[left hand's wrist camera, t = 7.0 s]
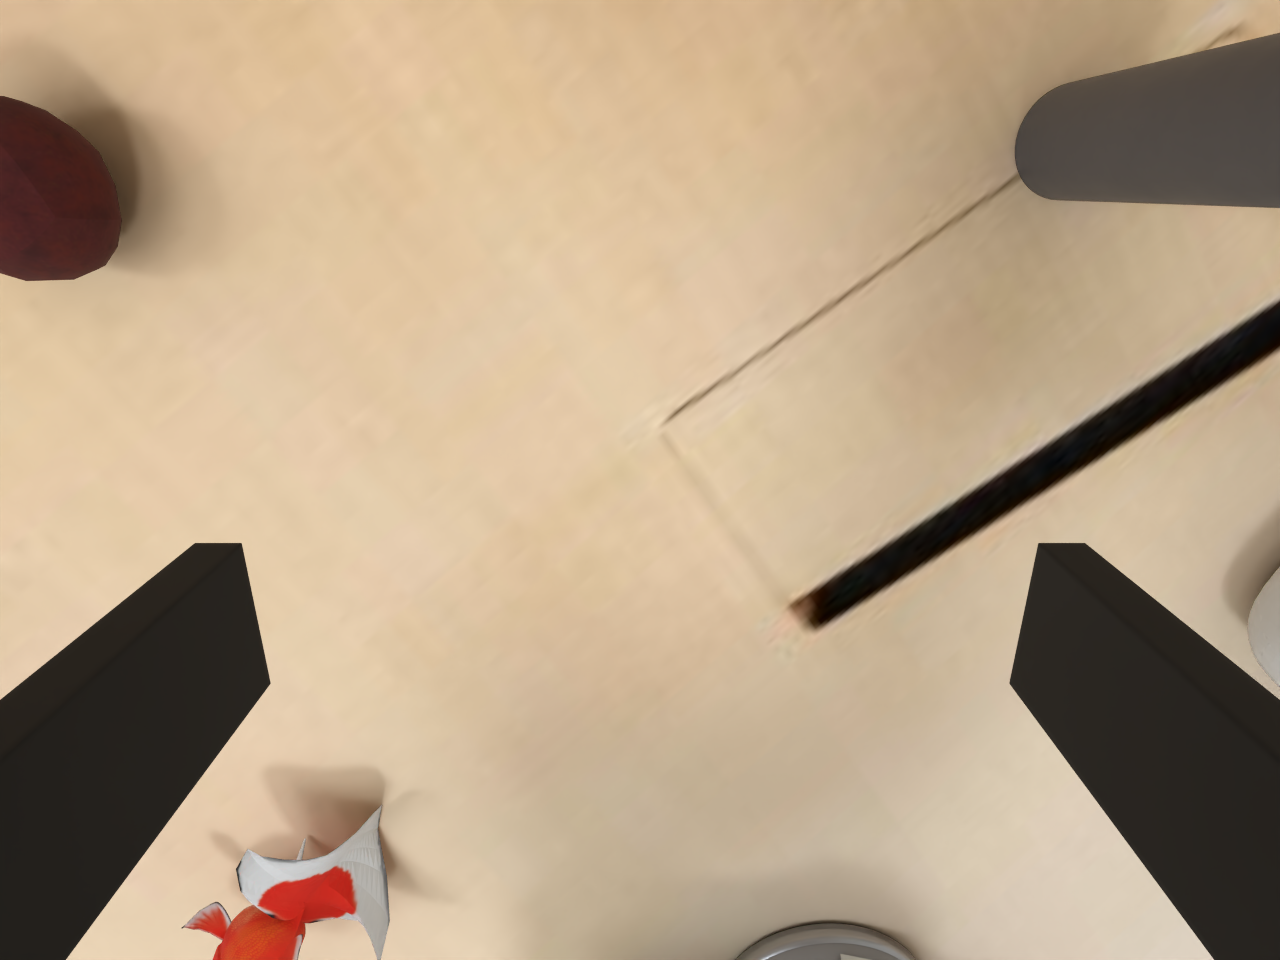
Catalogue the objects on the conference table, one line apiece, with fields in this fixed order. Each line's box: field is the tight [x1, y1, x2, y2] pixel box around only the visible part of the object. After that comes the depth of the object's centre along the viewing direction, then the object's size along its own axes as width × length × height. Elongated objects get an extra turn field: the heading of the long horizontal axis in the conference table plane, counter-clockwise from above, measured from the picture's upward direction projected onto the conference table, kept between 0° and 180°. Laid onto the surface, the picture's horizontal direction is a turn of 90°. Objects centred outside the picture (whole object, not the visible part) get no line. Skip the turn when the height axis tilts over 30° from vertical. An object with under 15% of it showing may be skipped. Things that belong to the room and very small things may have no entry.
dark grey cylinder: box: [1015, 33, 1280, 208], centre depth 27 cm, size 5×5×19 cm
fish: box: [182, 805, 390, 960], centre depth 48 cm, size 11×16×10 cm
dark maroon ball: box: [0, 96, 122, 281], centre depth 33 cm, size 7×8×7 cm
